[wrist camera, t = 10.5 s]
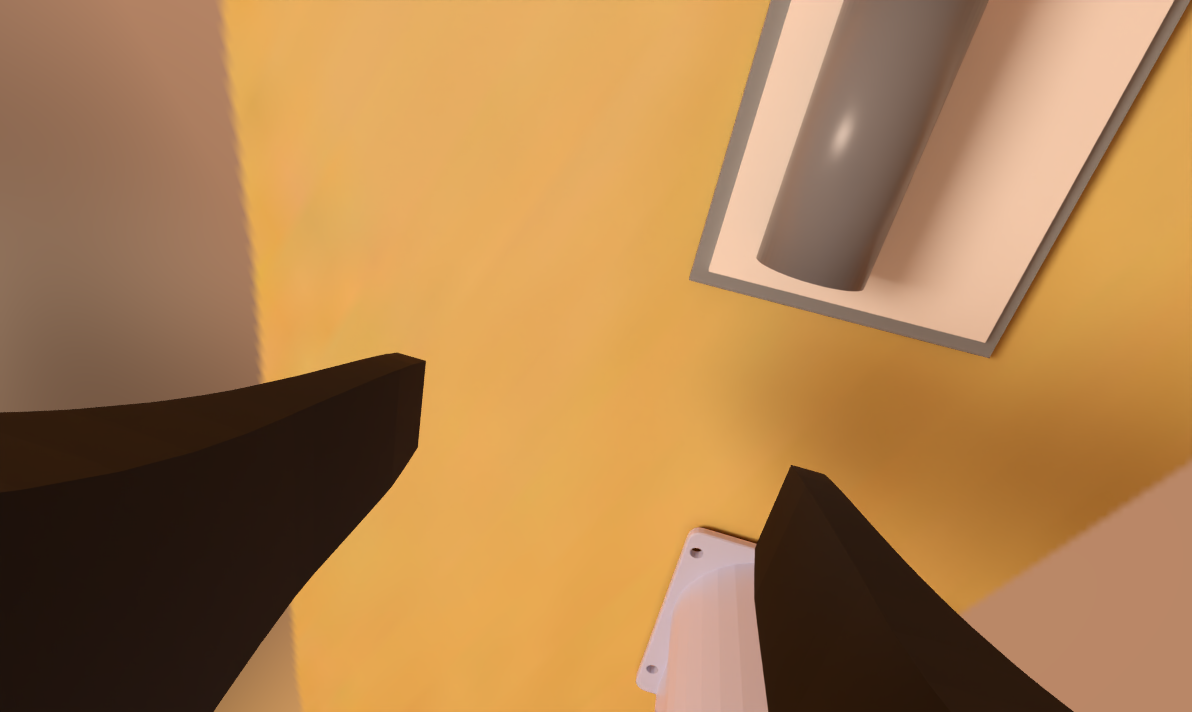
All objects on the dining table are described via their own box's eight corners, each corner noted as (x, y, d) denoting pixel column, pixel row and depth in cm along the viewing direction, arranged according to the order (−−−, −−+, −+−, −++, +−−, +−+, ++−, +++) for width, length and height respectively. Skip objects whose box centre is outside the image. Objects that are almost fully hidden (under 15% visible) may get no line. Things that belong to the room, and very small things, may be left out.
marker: (887, 297, 15) (791, 282, 14) (822, 262, 17) (738, 248, 16) (1108, -189, 11) (992, -253, 10) (980, -139, 13) (879, -186, 12)
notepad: (983, 353, 18) (993, 361, 17) (689, 277, 18) (688, 282, 18) (1271, -166, 12) (1302, -182, 12) (841, -242, 13) (848, -260, 13)
